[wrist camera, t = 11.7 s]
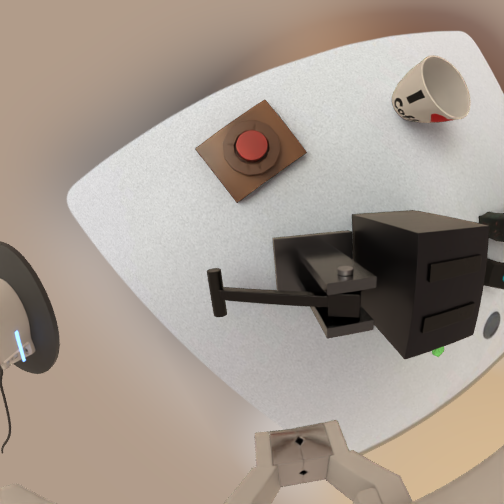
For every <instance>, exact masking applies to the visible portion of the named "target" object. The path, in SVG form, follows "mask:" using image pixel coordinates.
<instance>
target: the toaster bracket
mask: <svg viewBox="0 0 504 504" xmlns="http://www.w3.org/2000/svg"><path fill="white" fill-rule="evenodd" d="M273 250H274V262H275V274H276V286H277V290H280V291H302V292H325V293H326V294H327V295H334V294H341V293H347V292H353V291H360V290H366V289H372V288H376V284H377V276H375V275H374V274H372V273H371V272H369V271H368V270H367V269H365V268H364V267H362V266H361V265H359V264H358V263H357V262H355V261H354V260H353V246H352V232H351V231H349V230H347V231H336V232H326V233H316V234H306V235H296V236H286V237H276V238H273ZM311 309H312V311H313V313H314V315H315V317H316V319H317V320H318V322H319V324H320V326H321V328H322V330H323V332H324V333H325V335H326V337H327V338H333V337H338V336H344V335H349V334H354V333H359V332H364V331H369V330H373V327H374V319H373V318H372V317H371V316H370V315H369V314H368V313H367V312H366V311H365V310H364V309H363V308H362V307H361V309H360V316H359V318H350V317H329V316H328V307H311Z"/></svg>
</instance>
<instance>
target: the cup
mask: <svg viewBox="0 0 504 504" xmlns="http://www.w3.org/2000/svg"><path fill="white" fill-rule="evenodd" d="M392 104H393V107H394V109H395V111H396V112H397V113H398V115H399V116H401V117H402V118H403V119H405V120H408V121H413V122H419V123H438V122H444V121H450V120H457V119H462V118H464V117H466V116H467V114H468V112H469V110H470V95H469V91H468V88H467V85H466V83H465V81H464V79H463V77H462V76H461V74H460V73H459V72H458V70H457V69H456V68H455V67H454V66H453V65H452V64H451V63H450V62H448V61H447V60H445V59H443V58H441V57H439V56H428V57H426V58H425V59H424V60H423V61H421V62H420V63H419V64H417V65H416V66H415V67H414V68H412V69H411V70H410V71H409V72H408V73H407V74H406V75H405V76H404V77H403V79H402V80H401V81H400V82H399V83H398V85H397V87H396V89H395V91H394V93H393V95H392Z"/></svg>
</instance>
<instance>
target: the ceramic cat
mask: <svg viewBox="0 0 504 504" xmlns="http://www.w3.org/2000/svg"><path fill="white" fill-rule="evenodd" d="M479 224H484V225H488V226H489V238H491V239H493V240H495V241H501V242H504V213H493V212H487V213H486V214H485V215H482V216H479Z"/></svg>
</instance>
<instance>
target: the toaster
mask: <svg viewBox="0 0 504 504" xmlns="http://www.w3.org/2000/svg"><path fill="white" fill-rule="evenodd" d="M352 228H353V260H354V261H355V262H357V263H358V264H359V265H361V266H362V267H364V268H365V269H367V270H368V271H369V272H371V273H372V274H374V275H375V276H377V284H376V288H372V289H366V290H361V307H362V308H363V309H364V310H365V311H366V312H367V313H368V314H369V315H370V316H371V317H372V318H373V319H374V325H375V326H376V327H377V328H378V330H379V331H380V332H381V333H382V334H383V335H384V336H385V338H386V339H387V340H388V341H389V342H390V343H391V344H392V345H393V347H394V348H395V349H396V350H397V351H398V352H399V354H400V355H401V356H402V357H403V358H404V359H408V358H411V357H414V356H417V355H420V354H423V353H426V352H429V351H432V350H435V349H438V348H441V347H443V346H446V345H449V344H451V343H454V342H456V341H459V340H461V339H464V338H466V337H469V336H471V335H473V333H474V330H475V325H476V321H477V317H478V312H479V307H480V302H481V297H482V291H483V285H484V278H485V271H486V262H487V252H488V239H489V226H488V225H484V224H479V223H475V222H470V221H466V220H461V219H456V218H452V217H447V216H442V215H437V214H431V213H426V212H420V211H415V210H410V211H393V212H378V213H364V214H352Z"/></svg>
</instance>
